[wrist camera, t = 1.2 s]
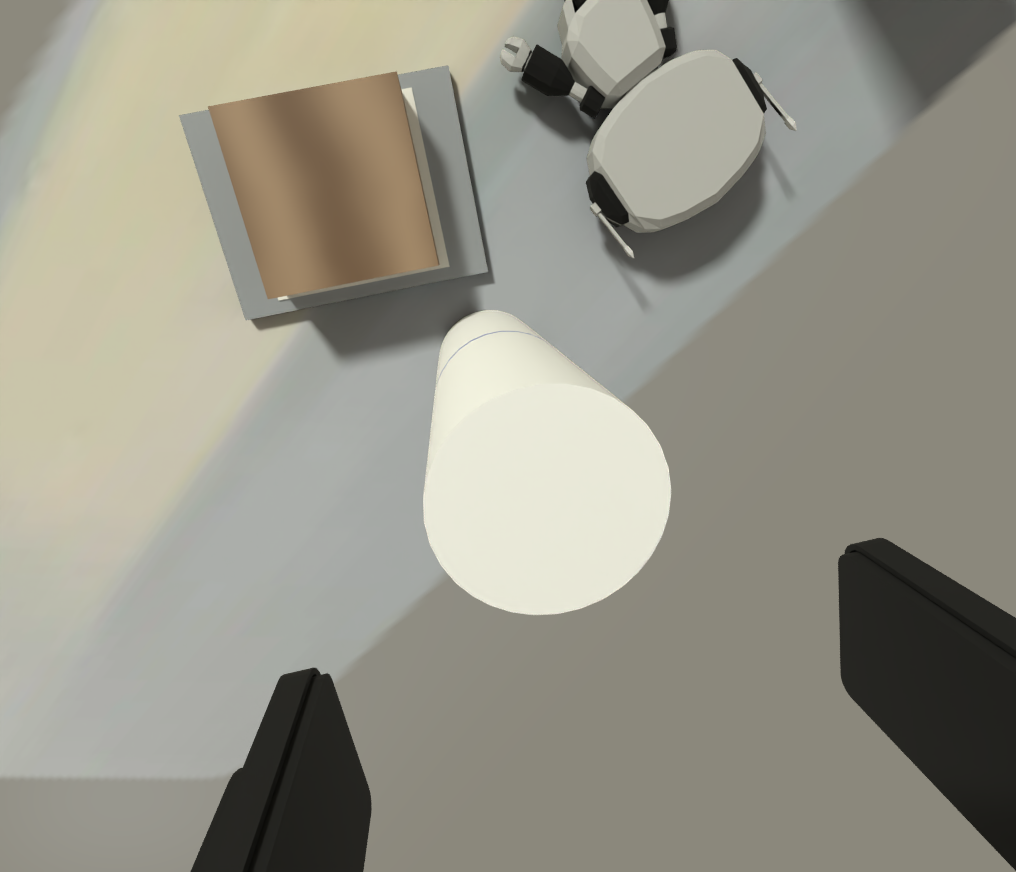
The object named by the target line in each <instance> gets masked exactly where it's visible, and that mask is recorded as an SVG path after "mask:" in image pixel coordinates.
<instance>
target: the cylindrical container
mask: <svg viewBox="0 0 1016 872" xmlns="http://www.w3.org/2000/svg"><path fill="white" fill-rule="evenodd" d="M670 498H671V486H670V477H669V468H668V465H667V463H666V460H665V457H664V454H663V451H662V448H661V446H660V444H659V442H658V441H657V439H656V438H655V436H654V434H653V433H652V431H651V430H650V428H649V427H648V425H647V424H646V423H645V422H644V421H643V420H642V419H641V418H640V417H639V416H638V415H637V414H635V412H634V411H633V410H632V409H631V408H629V407H628V406H627V405H626V404H624V403H623V402H622V401H621V400H619V399H618V398H617V397H616V396H614V395H613V394H612V393H611V392H609V391H608V390H607V389H606V388H604V387H603V386H602V385H601V384H599V383H598V382H597V381H596V380H594V379H593V378H592V377H591V376H589V375H588V374H587V373H586V372H584V371H583V370H582V369H581V368H579V367H578V366H577V365H576V364H575V363H573V362H572V361H571V360H570V359H568V358H567V357H566V356H565V355H563V354H562V353H561V352H560V351H558V350H557V349H556V348H555V347H553V346H552V345H551V344H550V343H548V342H547V341H546V340H545V339H543V338H542V337H541V336H540V335H538V334H537V333H536V332H535V331H534V330H532V329H531V328H530V327H529V326H527V325H526V324H525V323H524V322H522V321H521V320H519V319H518V318H516V317H515V316H513V315H511V314H508V313H506V312H502V311H497V310H484V311H479V312H474V313H472V314H470V315H467V316H465V317H464V318H462V319H461V320H459V321H458V322H457V323H455V325H454V326H453V327H452V328H451V329H450V330H449V331H448V333H447V335H446V336H445V338H444V340H443V343H442V345H441V349H440V354H439V362H438V371H437V380H436V389H435V397H434V406H433V415H432V424H431V433H430V442H429V451H428V460H427V469H426V478H425V487H424V496H423V505H424V523H425V527H426V531H427V535H428V539H429V542H430V545H431V547H432V549H433V551H434V553H435V555H436V557H437V559H438V561H439V563H440V565H441V566H442V567H443V568H444V570H445V571H446V572H447V573H448V574H449V576H450V577H451V578H452V579H453V580H454V581H455V583H457V584H458V585H459V586H460V587H462V588H463V589H464V590H465V591H467V592H468V593H469V594H471V595H472V596H473V597H475V598H477V599H479V600H481V601H483V602H485V603H487V604H489V605H491V606H493V607H497V608H500V609H503V610H507V611H509V612H514V613H522V614H530V615H542V614H543V615H545V614H559V613H563V612H568V611H572V610H577V609H581V608H583V607H585V606H588V605H590V604H593V603H595V602H598V601H600V600H602V599H604V598H606V597H607V596H609V595H610V594H612V593H613V592H615V591H616V590H618V589H619V588H621V587H622V586H624V585H625V584H626V583H627V582H628V581H629V580H630V579H631V578H632V577H634V576H635V575H636V574H637V573H638V572H639V571H640V570H641V568H642V567H643V566H644V564H645V563H646V562H647V561H648V559H649V558H650V557H651V555H652V554H653V552H654V550H655V548H656V546H657V545H658V543H659V541H660V539H661V537H662V535H663V531H664V528H665V525H666V522H667V519H668V515H669V508H670Z"/></svg>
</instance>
